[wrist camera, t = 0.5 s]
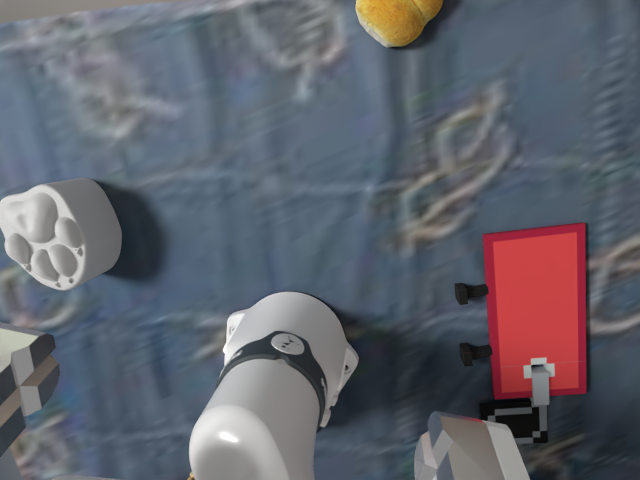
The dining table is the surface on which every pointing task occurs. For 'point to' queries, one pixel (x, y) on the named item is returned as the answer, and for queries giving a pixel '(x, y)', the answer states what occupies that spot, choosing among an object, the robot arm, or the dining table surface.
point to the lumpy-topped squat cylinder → (62, 232)
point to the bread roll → (396, 19)
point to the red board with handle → (532, 323)
